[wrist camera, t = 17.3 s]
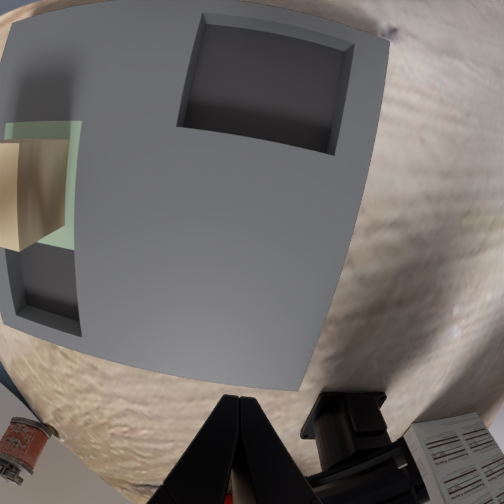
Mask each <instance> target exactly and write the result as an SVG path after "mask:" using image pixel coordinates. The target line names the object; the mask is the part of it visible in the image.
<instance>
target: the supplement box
mask: <svg viewBox="0 0 504 504" xmlns="http://www.w3.org/2000/svg"><path fill="white" fill-rule="evenodd" d="M403 437H404V439H405V441H406V443H407V445H408V447H409V449H410V451H411V454H412V456H413V458H414V460H415V462H416V464H417V467H418V469H419V471H420V473H421V476H422V478H423V481H424V483H425V486H426V489H427V491H428V494H429V497H430V501H429V502H427V503H425V504H504V454H503V452H502V451H501V449H500V448H499V446H498V444H497V443H496V441H495V440H494V438H493V437H492V435H491V433H490V432H489V430H488V429H487V427H486V426H485V424H484V423H483V421H482V420H481V419H480V417H479V416H478V414H477V413H476V412H474V413H469V414H465V415H460V416H455V417H450V418H444V419H439V420H432V421H426V422H419V423H413V424H411V427H410V428H409V429H408V430H407V432H406V433H405V434H404V435H403ZM406 465H407V464H405V465H403V466H401V467H399V469H400V468H402V467H404V466H406Z"/></svg>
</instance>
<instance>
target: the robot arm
mask: <svg viewBox="0 0 504 504" xmlns="http://www.w3.org/2000/svg"><path fill="white" fill-rule="evenodd" d="M386 398H387V396H386V394H385V392H361V393H342V392H324V393H322V394H320V396H319V398H318V400H317V402H316V404H315V406H314V408H313V410H312V412H311V414H310V416H309V418H308V420H307V421H306V423H305V425H304V427H303V429H302V431H301V433H300V437H301V439H315V440H316V444H317V449H318V454H319V459H320V464H321V468H322V472H320V473H317V474H314V475H311V476H308V477H307V476H305V477H304V476H303V474H302V473H301V471H300V470H299V468H298V466H297V465H296V463H295V462H294V460H293V459H292V457H291V456H290V454H289V452H288V451H287V449H286V448H285V446H284V444H283V443H282V441H281V440H280V438H279V436H278V435H277V433H276V432H275V430H274V428H273V427H272V425H271V423H270V422H269V420H268V418H267V417H266V415H265V413H264V412H263V410H262V408H261V406H260V405H259V403H258V401H257V400H256V399H255V398H253V397H244V396H241V397H240V398H239V397H238V396H235V395H227V394H225V395H223V396H222V397H221V399H220V400H219V402H218V403H217V405H216V406H215V408H214V410H213V411H212V413H211V414H210V416H209V417H208V419H207V420H206V421H205V423H204V424H203V426H202V427H201V429H200V430H199V432H198V433H197V435H196V436H195V438H194V439H193V441H192V442H191V443H190V445H189V446H188V448H187V449H186V451H185V452H184V453H183V455H182V456H181V458H180V459H179V461H178V462H177V463H176V465H175V466H174V468H173V469H172V470H171V472H170V473H169V474H168V476H167V477H166V479H165V480H164V481H163V485H160V486H159V488H158V489H157V490H156V492H155V493H154V494H153V496H152V497H151V498H150V499H149V501H148V502H147V503H146V504H224V502H225V497H226V493H227V488H228V484H229V479H230V475H231V479H232V492H233V504H425V503H427V502H429V501H430V497H429V494H428V491H427V489H426V486H425V483H424V481H423V478H422V476H421V473H420V471H419V469H418V467H417V464H416V462H415V460H414V458H413V456H412V454H411V451H410V449H409V447H408V445H407V443H406V441H405V439H404V437H403V436H402V437H400V438H398V439H397V441H395V442H393V443H392V442H391V440H390V437H389V435H388V432H387V430H386V429H387V425H386V423H385V420H384V418H383V416H382V413H381V411H380V408H381V406H382V404H383V403H384V401H385V400H386ZM405 464H407V465H406V466H404V467H402V468H400V469H399V467H401V466H403V465H405Z"/></svg>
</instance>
